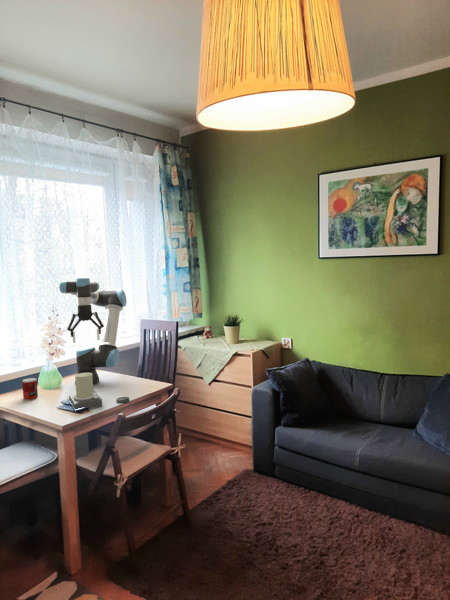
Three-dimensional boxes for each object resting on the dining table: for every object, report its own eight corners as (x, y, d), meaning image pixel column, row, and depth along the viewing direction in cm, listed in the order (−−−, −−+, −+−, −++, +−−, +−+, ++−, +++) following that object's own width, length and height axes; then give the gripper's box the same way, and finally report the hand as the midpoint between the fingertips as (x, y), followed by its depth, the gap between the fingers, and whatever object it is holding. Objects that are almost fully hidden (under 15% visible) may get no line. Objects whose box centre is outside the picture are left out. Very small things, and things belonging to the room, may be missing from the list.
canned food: (31, 400, 245) (29, 381, 244) (20, 399, 248) (18, 380, 247) (40, 396, 252) (39, 378, 252) (30, 395, 255) (29, 377, 254)
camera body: (69, 402, 241) (68, 393, 240) (94, 397, 248) (94, 389, 247) (75, 411, 225) (74, 401, 225) (102, 406, 232) (101, 397, 232)
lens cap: (114, 403, 237) (114, 401, 237) (120, 399, 244) (120, 396, 244) (125, 403, 235) (125, 401, 235) (131, 399, 242) (131, 396, 242)
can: (88, 398, 231) (87, 376, 230) (72, 397, 232) (71, 375, 231) (96, 393, 240) (95, 371, 239) (81, 392, 241) (80, 371, 240)
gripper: (62, 306, 236) (64, 344, 238) (107, 303, 248) (109, 339, 250) (60, 305, 243) (62, 342, 245) (104, 302, 255) (106, 337, 257)
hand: (86, 341), depth 247 cm, fingers open, 13 cm apart
